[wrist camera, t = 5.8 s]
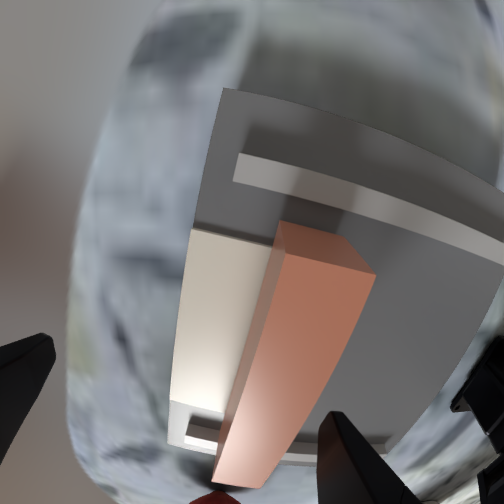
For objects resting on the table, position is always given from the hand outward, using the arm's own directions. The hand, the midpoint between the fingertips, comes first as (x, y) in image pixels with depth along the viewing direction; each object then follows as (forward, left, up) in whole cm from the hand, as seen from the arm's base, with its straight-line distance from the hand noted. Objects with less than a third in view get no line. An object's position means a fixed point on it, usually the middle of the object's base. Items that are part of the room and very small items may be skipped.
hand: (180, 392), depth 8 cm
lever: (-3, 0, -2) cm, 4 cm away
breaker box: (-6, 0, -6) cm, 8 cm away
